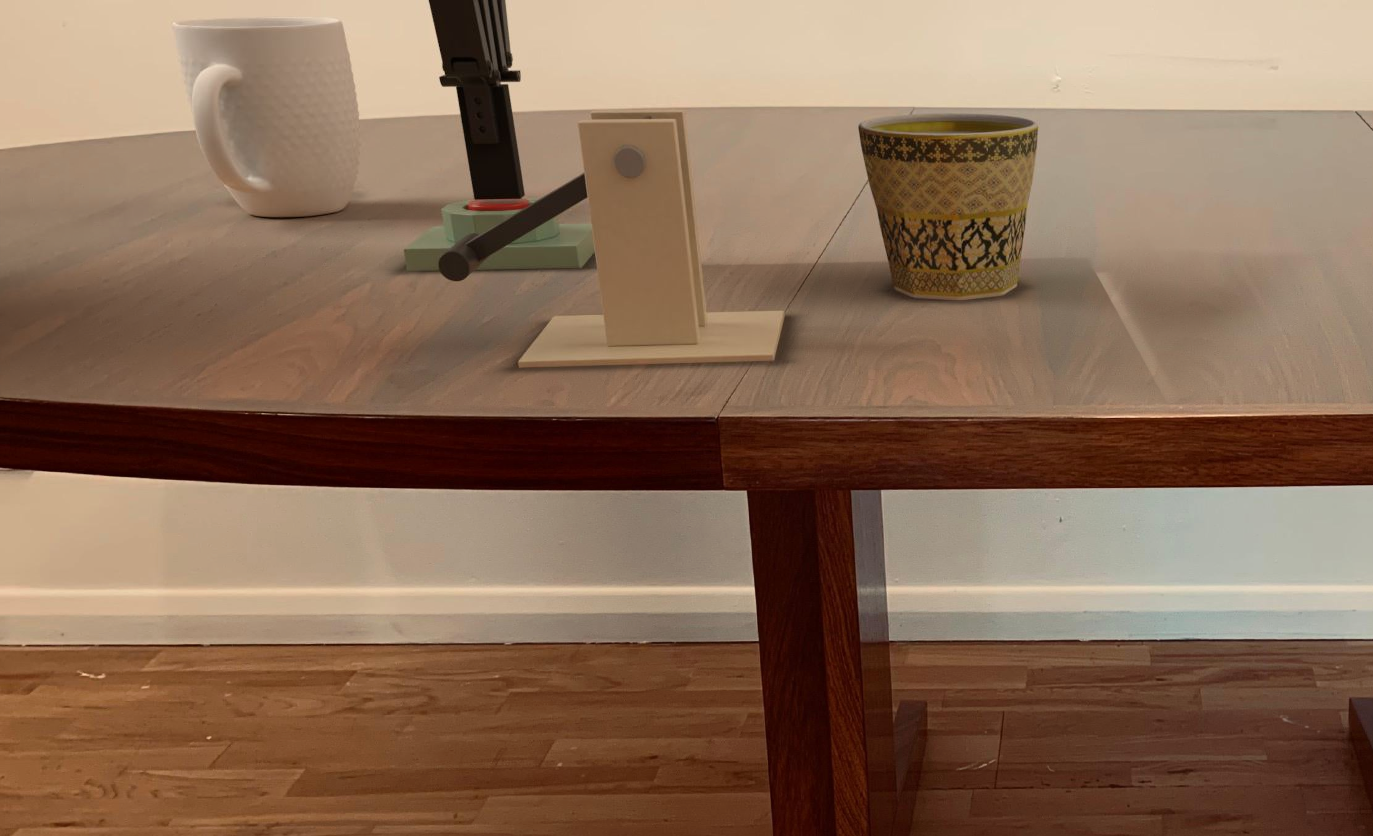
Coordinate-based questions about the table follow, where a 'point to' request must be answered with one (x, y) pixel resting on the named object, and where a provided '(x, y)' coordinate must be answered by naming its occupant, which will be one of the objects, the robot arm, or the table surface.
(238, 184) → the mug
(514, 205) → the button
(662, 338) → the bracket
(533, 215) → the lever
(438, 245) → the button box
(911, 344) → the table surface
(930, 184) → the ceramic cup
